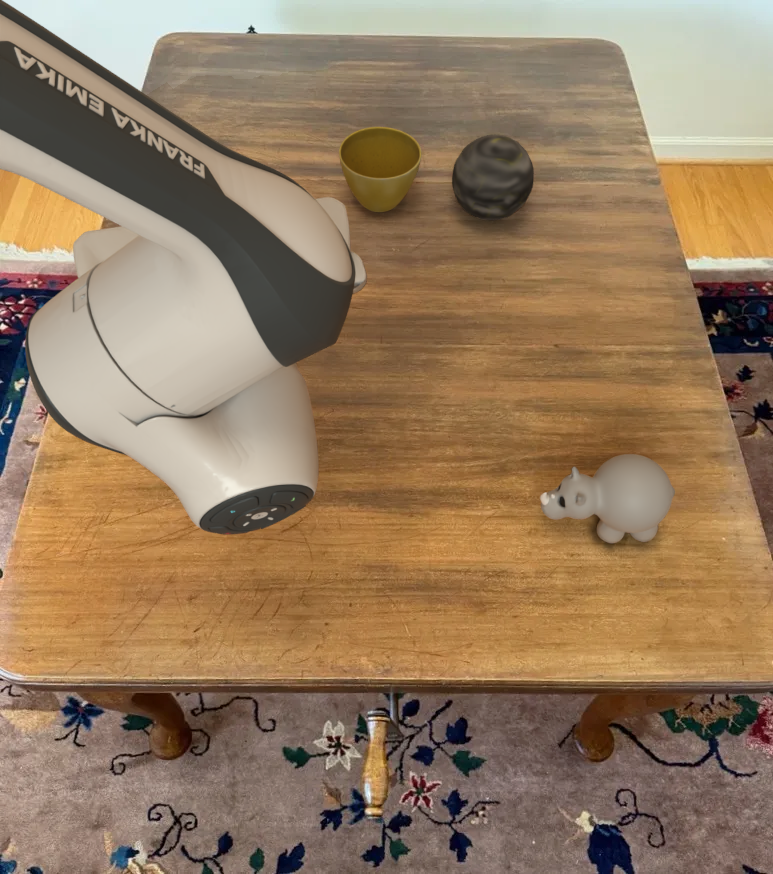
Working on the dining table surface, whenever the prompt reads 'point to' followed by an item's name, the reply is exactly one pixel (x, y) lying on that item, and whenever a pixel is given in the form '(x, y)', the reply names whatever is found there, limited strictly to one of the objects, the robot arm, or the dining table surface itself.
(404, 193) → the flower pot
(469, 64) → the dining table surface
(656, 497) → the chubby cartoon animal
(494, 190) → the decorative stone
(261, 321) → the robot arm
